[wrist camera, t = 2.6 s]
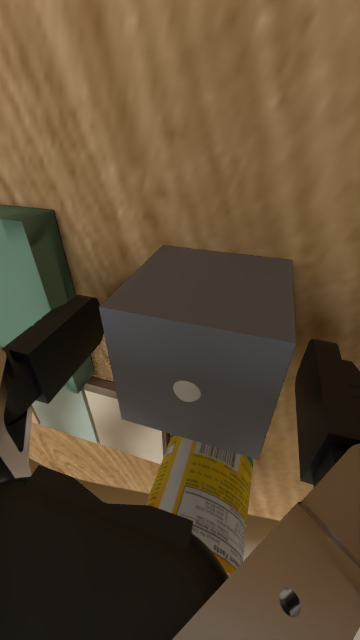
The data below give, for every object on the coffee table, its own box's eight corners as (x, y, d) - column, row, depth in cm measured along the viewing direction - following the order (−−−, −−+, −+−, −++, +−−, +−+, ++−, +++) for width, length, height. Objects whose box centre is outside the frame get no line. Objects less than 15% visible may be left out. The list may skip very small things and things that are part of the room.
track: (167, 396, 17) (162, 408, 16) (169, 456, 21) (165, 467, 20) (-38, 343, 21) (-49, 350, 20) (-2, 402, 25) (-11, 410, 24)
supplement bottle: (235, 412, 16) (191, 677, 8) (265, 467, 18) (251, 716, 10) (159, 417, 18) (72, 620, 11) (193, 464, 20) (141, 660, 13)
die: (298, 260, 10) (308, 352, 6) (270, 364, 13) (264, 473, 9) (163, 244, 11) (93, 311, 7) (167, 342, 14) (119, 429, 10)
